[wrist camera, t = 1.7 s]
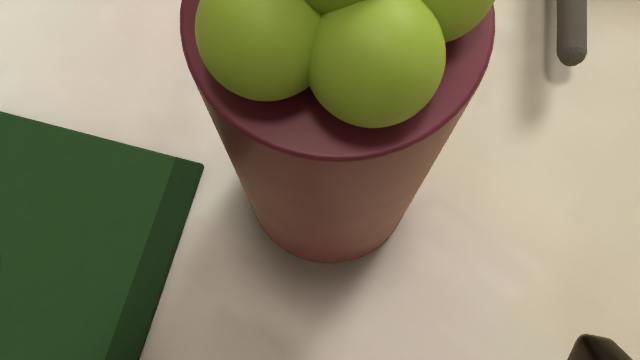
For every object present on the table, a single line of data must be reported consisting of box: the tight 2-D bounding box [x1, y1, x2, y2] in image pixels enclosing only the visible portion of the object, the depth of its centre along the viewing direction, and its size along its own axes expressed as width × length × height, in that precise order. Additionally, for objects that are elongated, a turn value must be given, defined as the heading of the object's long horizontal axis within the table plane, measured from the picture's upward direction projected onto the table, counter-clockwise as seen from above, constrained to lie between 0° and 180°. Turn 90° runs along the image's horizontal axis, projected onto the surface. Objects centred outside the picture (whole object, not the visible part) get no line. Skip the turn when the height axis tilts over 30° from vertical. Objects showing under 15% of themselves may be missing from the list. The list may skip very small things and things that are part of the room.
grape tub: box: [180, 0, 495, 263], centre depth 15 cm, size 6×6×14 cm
